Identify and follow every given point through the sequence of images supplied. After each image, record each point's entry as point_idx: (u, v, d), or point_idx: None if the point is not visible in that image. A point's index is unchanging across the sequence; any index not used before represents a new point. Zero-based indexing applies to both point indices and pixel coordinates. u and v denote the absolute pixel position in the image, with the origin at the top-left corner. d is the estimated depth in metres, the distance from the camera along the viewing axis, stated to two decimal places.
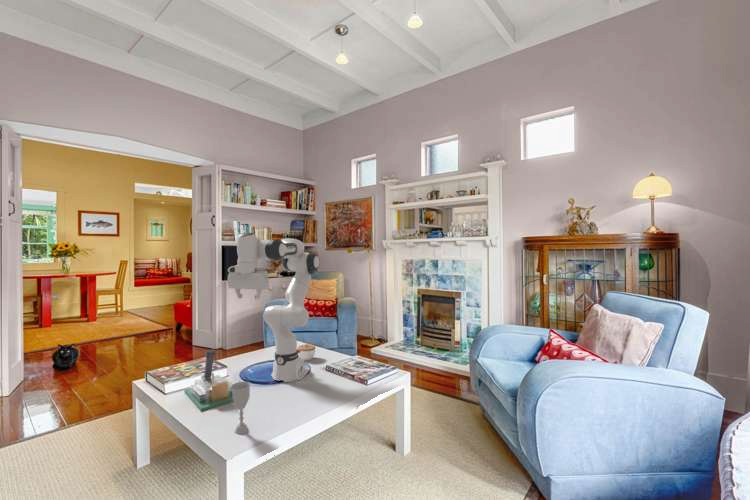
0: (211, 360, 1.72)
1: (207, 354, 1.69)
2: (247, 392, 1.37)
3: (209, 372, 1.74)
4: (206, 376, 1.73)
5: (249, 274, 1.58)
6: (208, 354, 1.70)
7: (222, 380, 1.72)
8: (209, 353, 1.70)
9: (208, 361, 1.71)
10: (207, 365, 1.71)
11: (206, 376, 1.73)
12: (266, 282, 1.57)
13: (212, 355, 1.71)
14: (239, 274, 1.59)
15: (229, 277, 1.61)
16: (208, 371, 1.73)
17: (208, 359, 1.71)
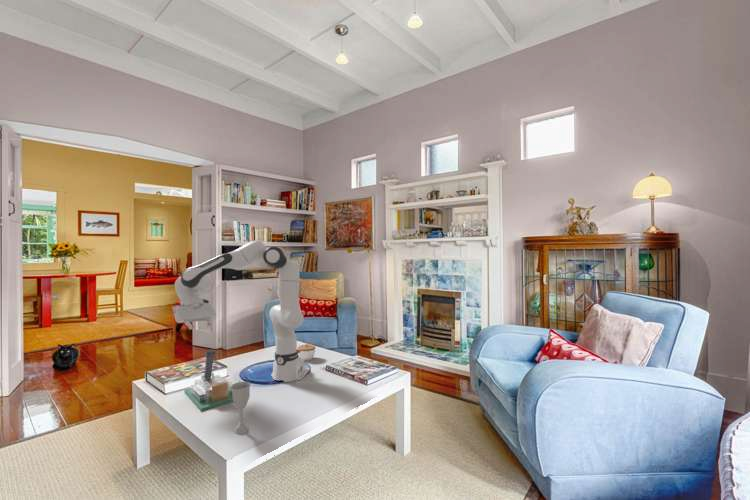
0: (211, 360, 1.72)
1: (207, 354, 1.69)
2: (247, 392, 1.37)
3: (209, 372, 1.74)
4: (206, 376, 1.73)
5: None
6: (208, 354, 1.70)
7: (222, 380, 1.72)
8: (209, 353, 1.70)
9: (208, 361, 1.71)
10: (207, 365, 1.71)
11: (206, 376, 1.73)
12: (176, 316, 1.69)
13: (212, 355, 1.71)
14: None
15: None
16: (208, 371, 1.73)
17: (208, 359, 1.71)
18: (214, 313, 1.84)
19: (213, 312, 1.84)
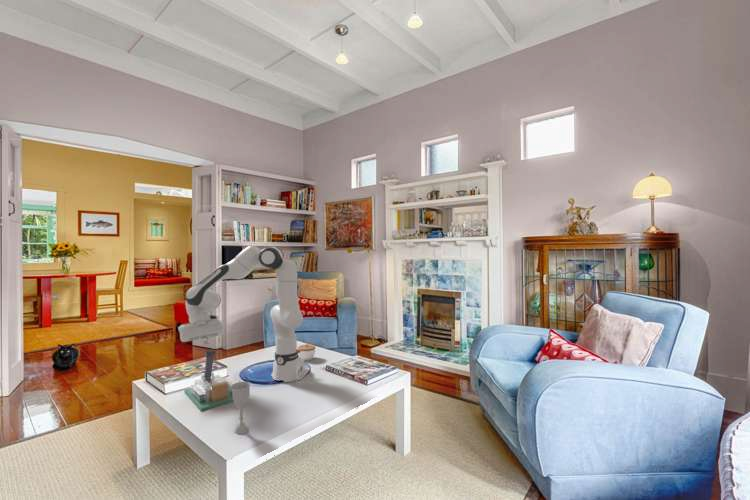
0: (211, 360, 1.72)
1: (207, 354, 1.69)
2: (247, 392, 1.37)
3: (209, 372, 1.74)
4: (206, 376, 1.73)
5: None
6: (208, 354, 1.70)
7: (222, 380, 1.72)
8: (209, 353, 1.70)
9: (208, 361, 1.71)
10: (207, 365, 1.71)
11: (206, 376, 1.73)
12: (180, 335, 1.73)
13: (212, 355, 1.71)
14: None
15: None
16: (208, 371, 1.73)
17: (208, 359, 1.71)
18: (222, 329, 1.84)
19: (221, 327, 1.84)
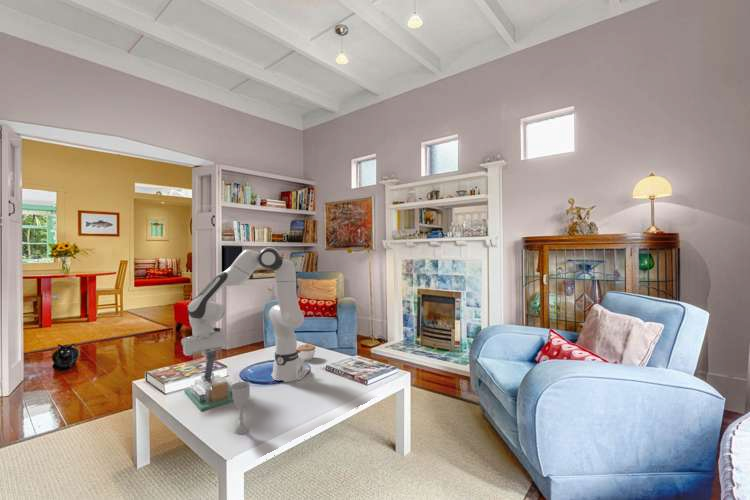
0: (212, 361, 1.71)
1: (208, 356, 1.68)
2: (247, 392, 1.37)
3: (209, 373, 1.73)
4: (206, 376, 1.73)
5: None
6: (209, 356, 1.69)
7: (222, 380, 1.72)
8: (210, 355, 1.69)
9: (209, 362, 1.70)
10: (207, 366, 1.71)
11: (206, 376, 1.73)
12: (183, 349, 1.69)
13: (213, 357, 1.70)
14: None
15: None
16: (208, 372, 1.73)
17: (209, 361, 1.70)
18: (226, 342, 1.79)
19: (225, 340, 1.80)
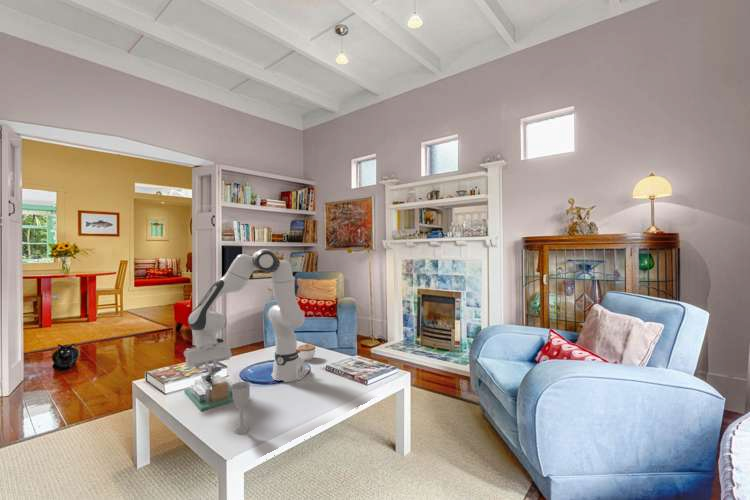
0: (215, 373, 1.68)
1: (212, 372, 1.64)
2: (247, 392, 1.37)
3: (210, 376, 1.73)
4: (206, 378, 1.73)
5: None
6: (213, 372, 1.65)
7: (222, 380, 1.72)
8: (214, 372, 1.64)
9: (212, 374, 1.67)
10: (210, 375, 1.69)
11: None
12: (186, 361, 1.65)
13: (217, 371, 1.67)
14: None
15: None
16: (209, 376, 1.72)
17: (212, 373, 1.67)
18: (229, 353, 1.76)
19: (228, 351, 1.76)
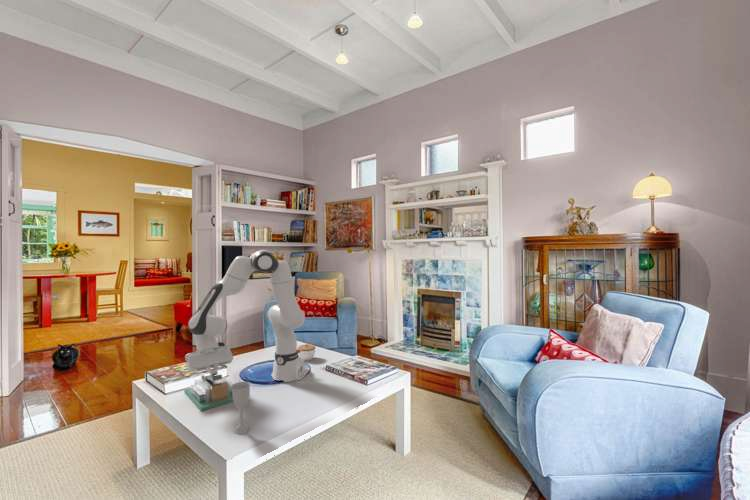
0: None
1: (213, 380, 1.63)
2: (247, 392, 1.37)
3: None
4: (206, 378, 1.73)
5: None
6: (214, 380, 1.64)
7: (222, 380, 1.72)
8: None
9: None
10: (210, 379, 1.68)
11: None
12: (187, 365, 1.64)
13: None
14: None
15: None
16: None
17: None
18: (230, 356, 1.75)
19: (229, 355, 1.75)
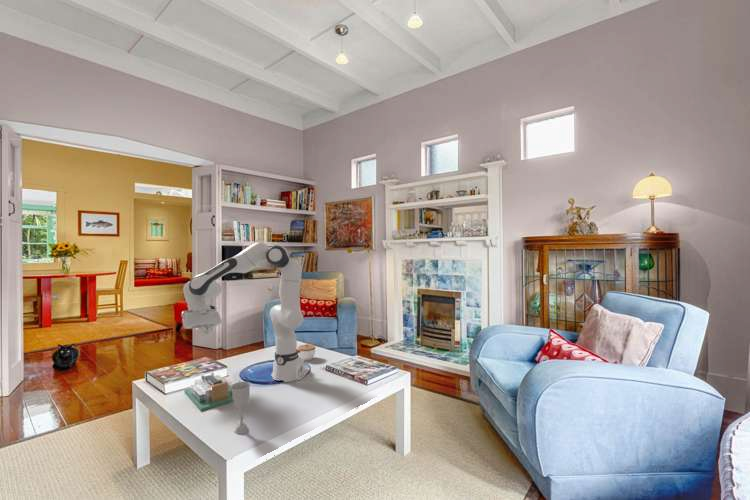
0: None
1: None
2: (247, 392, 1.37)
3: None
4: None
5: None
6: None
7: (222, 380, 1.72)
8: None
9: None
10: None
11: None
12: (184, 322, 1.73)
13: None
14: None
15: None
16: None
17: None
18: (219, 320, 1.89)
19: (219, 318, 1.89)
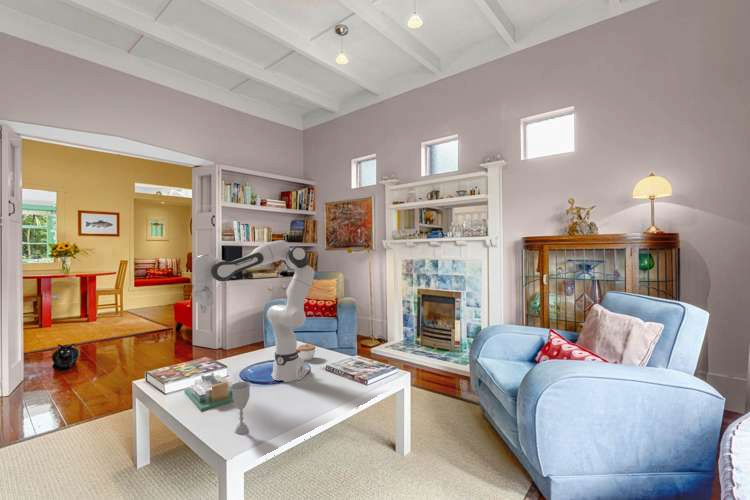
0: None
1: None
2: (247, 392, 1.37)
3: None
4: None
5: (200, 291, 1.79)
6: None
7: (222, 380, 1.72)
8: None
9: None
10: None
11: None
12: (209, 300, 1.75)
13: None
14: (197, 290, 1.83)
15: (193, 292, 1.87)
16: None
17: None
18: None
19: None
